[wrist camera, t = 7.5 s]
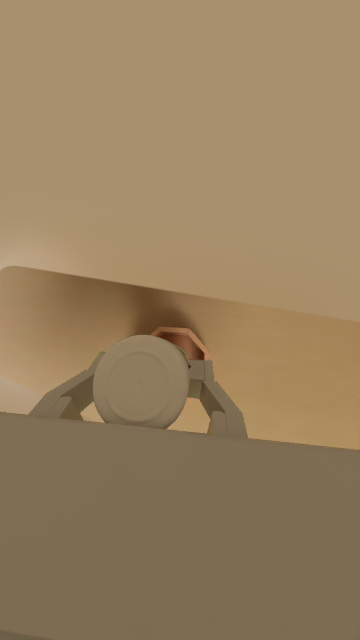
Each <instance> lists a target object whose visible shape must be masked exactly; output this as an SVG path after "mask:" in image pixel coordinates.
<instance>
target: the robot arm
mask: <svg viewBox="0 0 360 640" xmlns="http://www.w3.org/2000/svg"><path fill="white" fill-rule="evenodd" d="M105 353H106V352H101V353H99V355H98V356H97V358H96V359H95V361H94V362H93V363H92V365H91V366H90V368H89V369H88V370H85V371H83V372H81V373H80V374H78V375H76V376H75V377H73V378H71V379H70V380H68V381H66V382H65V383H63V384H61V385H60V386H58V387H56V388H55V389H53V390H51V391H49V392H48V393H46V394H45V395H44V397H43V398H42V399H41V400H40V401H39V403H38V404H37V405H36V406H35V407H34V409H33V410H32V411H31V412H30V413H29V415H25V414H16V413H6V412H0V640H360V450H355V449H346V448H336V447H327V446H317V445H308V444H299V443H289V442H280V441H270V440H261V439H251V438H248V436H247V431H246V427H245V423H244V418H243V414H242V412H241V411H240V410H239V408H238V407H237V406H236V405H235V404H234V402H233V401H232V400H231V399H230V397H229V396H228V395H227V394H226V393H225V391H224V390H223V389H222V388H221V386H220V385H219V384H218V383H217V382H215V381H214V375H213V366H212V361H210V360H197V359H189V363H188V369H189V376H190V384H189V392H188V397H189V398H197V399H200V401H201V403H202V405H203V407H204V408H205V410H206V412H207V414H208V416H209V417H210V419H211V420H210V423H209V427H208V431H207V434H204V433H195V432H185V431H176V430H167V429H157V428H148V427H138V426H129V425H120V424H110V423H101V422H91V421H84V420H83V418H82V416H81V414H80V412H81V411H83V410H84V409H85V408H86V407H87V406H88V405H89V404H91V403H92V402H93V401H94V398H93V378H94V374H95V370H96V368H97V366H98V363H99V362H100V360H101V358H102V357H103V355H104V354H105Z"/></svg>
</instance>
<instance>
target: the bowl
mask: <svg viewBox="0 0 360 640" xmlns="http://www.w3.org/2000/svg"><path fill="white" fill-rule="evenodd" d="M150 335H151V336H156V337H159V338H162V339H164V340H167V341H169V342H170V343H172V344H174V345H178V346H181V347H182V348H184V349H185V350H186V351H187V352H188V354H189V356H190V359H197V360H209V358H210V351H209V350H208V349H207V348H206V347H205V346H204V345H203V343H202V342H201V341H200V340H199V339H198V338H197V337H196V336H195V334H194V333H193V332H192V331H191V330H190V329H189V328H175V327H161V326H160V327H158V328H157V329H156V330H155V331H154V332H152V333H151V334H150ZM192 399H193V398H189V397H187V400H186V403H185V405H187V404H188V403H189V402H190V401H191V400H192Z"/></svg>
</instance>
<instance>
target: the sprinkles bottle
mask: <svg viewBox="0 0 360 640" xmlns="http://www.w3.org/2000/svg"><path fill="white" fill-rule="evenodd" d="M189 359H190V356H189V354H188V352H187V351H186V350H185V349H184V348H182V347H181V346H178V345H174V344H172V343H170V342H169V341H167V340H164V339H162V338H159V337H156V336H151V335H135V336H130V337H127V338H125V339H122V340H120V341H119V342H117V343H116V344H114V345H113V346H112V347H111V348H109V349H108V351H107V352H106V353H105V354H104V355H103V357H102V358H101V360H100V362H99V363H98V366H97V368H96V370H95V374H94V378H93V398H94V402H95V406H96V408H97V411H98V413H99V414H100V416H101V418H102V419H103V420H104V422H105V423H110V424H120V425H129V426H138V427H148V428H157V429H167V428H168V427H169V426H170V425H171V424H172V423H173V422H174V421H175V420H176V419H177V418H178V416H179V415H180V413H181V412H182V410H183V408H184V406H185V403H186V400H187V397H188V392H189V384H190V376H189V369H188V363H189Z"/></svg>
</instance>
